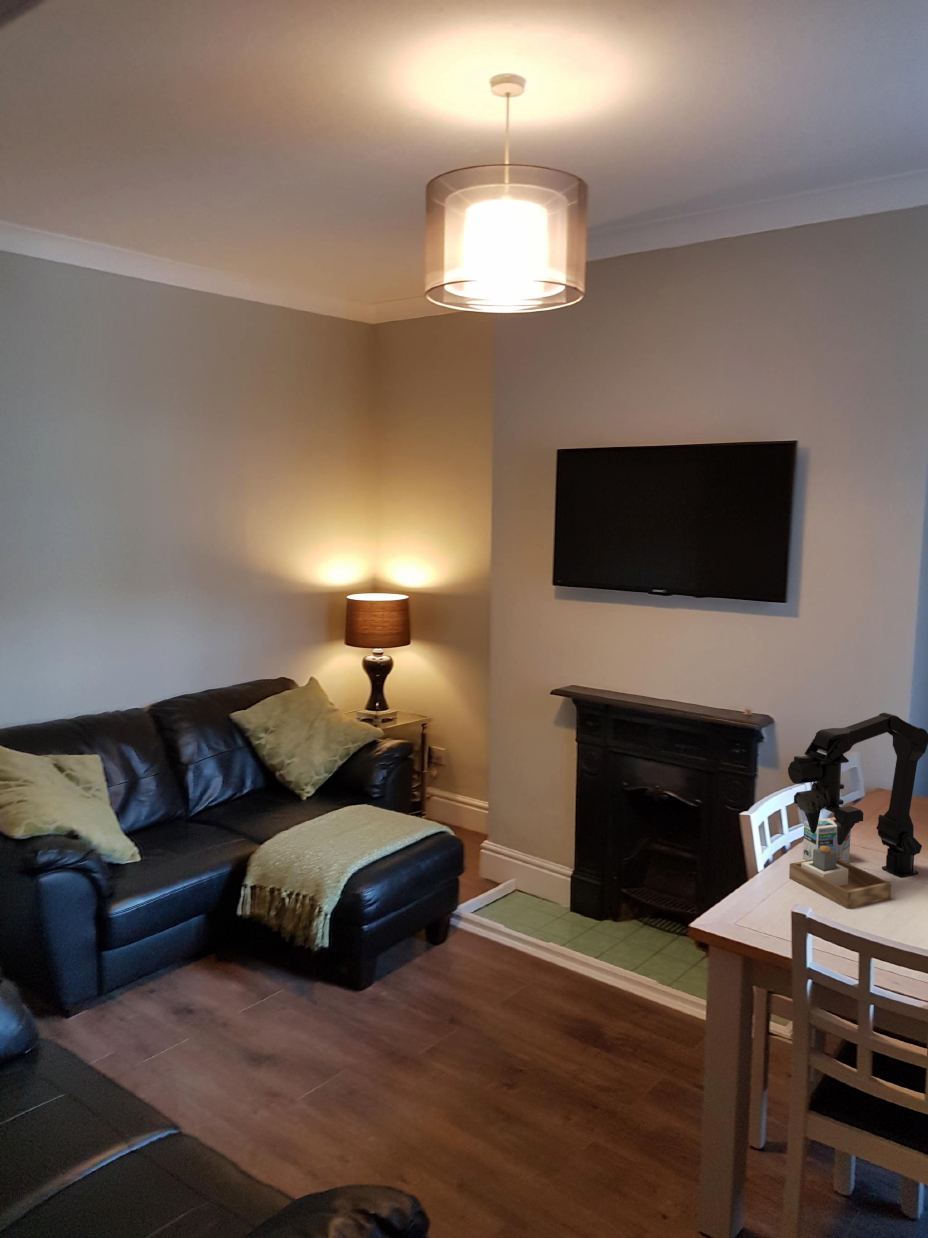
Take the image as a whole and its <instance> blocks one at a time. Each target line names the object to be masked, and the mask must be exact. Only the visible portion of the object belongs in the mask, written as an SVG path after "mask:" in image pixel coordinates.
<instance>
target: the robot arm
mask: <svg viewBox="0 0 928 1238" xmlns="http://www.w3.org/2000/svg"><path fill="white" fill-rule="evenodd" d="M886 733H887V734H888V735H890V736H892V748H893V750H894V753H895V755H896V756H895V757H896V761H895V767H894V772H893V773H894V775H893V781H892V785H891V786H892V787H891V793H890V799H889V800H890V801H889V805H888V806H889V807H888V810H887V811H886V812H885V813H884V814H879V815H878V818H877V819H878V820H877V822H878V823H877V826H876V828H875V829H876V830H877V836H879V838H880V840H881V844H882V845H883V846H886V847H888V848H887V852H886V857H885V858H886V860H885V865H883V866H881V869H882V870H883V871H886V872H888V873H891V874H893V875H895V876H897V877H901V878H902V877H907V876H913V875H918V874H919V870H916V869H915V868H914V864H915V856H916V855H919V854H920V853H921V851H922V848H923V845H922V844H921V843H920V842H919V841H918V839H916V838H915V836H914V833H915V832H914V829H915V826H914V823H913V820H912V818H911V815H910V812H911V805H912V801H913V799H912V798H913V793H914V787H915V786H914V785H915V781H916V772H917V766H918V761H919V760H920V759H921V758H922V757H923V756H924V754H925V753H926V751H927V748H928V732H927V730H926V729H924V728H921V727H919V726H916V725H912V724H911V723H909V722H907V721H905V720H903V719H901V718H900V717H899V716H898V715H894V714H892V713H887V712H882V713H879V714H878V715H876V716H874V717H871V718H867V719H865V720H862V721H859V722H857V723H854V724H851V725H848V726H846V727H830V728H822V729H820V730H818V731H817V732H815V736H814V738H813V739H812V741H811V742H810V744H809V746H808V747H807V749H806V750H805V752H804V756H799V755H797V756H793V761H791V762H790V764H789V765H788V767H787V774H788V776H789V779H790V781H791V782H792V783H794V784H795V785H799V784H808V783H812V784H811V789H810V790H804V791H797V792H796V793H795V794H794V795H793V804H796V805H797V808H798V809H799V810H800V811H803V812H804V814H805V817H806V821H808V824H809V827H810V830H811V833H816V830H817V826H818V821H819V819H820V815H821V812H822V811H821V810H826V811H828V812H831V813H834V814H833V818H834V817H835V819H836V820H833V821H834V822H835V824H836V825H837V842H838V845H842V844H843V842H844V840H845V838H846V837H847V835H848V833H849V832H850V830H851V831H852V829H853V827H854V826H855V824H859V823H860V822H864V811H862V810H861V809H860V808H858V807H854V806H852V805H848V806H842V807H841V805H844V803H845V802H844V800H843V799H841V790H844V789H845V784H843V783H841V780H842V775H841V774H842V764H844V763H845V764H846V763H849V762H850V760H849V759H848V758H847V757H846V756H845V754H846V753H848V752H849V751H851V749H852V748H853V747H854V746H855V745H856V744H858V743H861V742H864V741H867V740H870V739H872V738H875V737H878V736H881V735H884V734H886Z"/></svg>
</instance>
